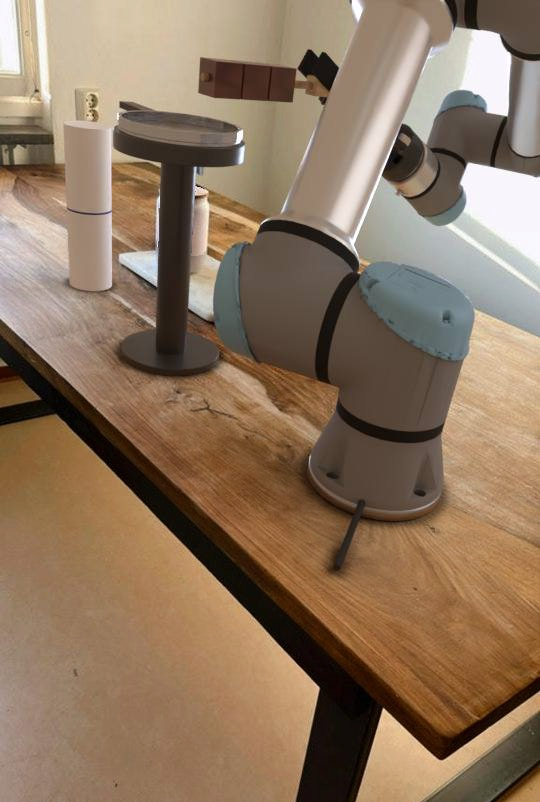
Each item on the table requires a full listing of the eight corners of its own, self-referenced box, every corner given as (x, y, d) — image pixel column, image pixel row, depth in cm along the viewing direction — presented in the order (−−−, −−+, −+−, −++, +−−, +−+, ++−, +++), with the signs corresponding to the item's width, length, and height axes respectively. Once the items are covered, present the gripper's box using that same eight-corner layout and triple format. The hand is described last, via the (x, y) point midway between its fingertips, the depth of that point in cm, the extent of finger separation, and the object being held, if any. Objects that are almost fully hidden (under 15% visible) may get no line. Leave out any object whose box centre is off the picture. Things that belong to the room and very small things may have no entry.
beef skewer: (347, 102, 98) (352, 71, 96) (365, 107, 95) (371, 75, 93) (193, 92, 84) (195, 56, 82) (209, 97, 82) (211, 60, 80)
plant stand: (169, 310, 114) (178, 103, 97) (246, 368, 100) (272, 136, 83) (76, 322, 106) (68, 97, 89) (145, 387, 91) (150, 132, 74)
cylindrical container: (70, 290, 116) (64, 126, 103) (68, 276, 122) (62, 118, 108) (113, 291, 119) (113, 130, 105) (110, 277, 124) (109, 123, 110)
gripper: (424, 195, 102) (332, 98, 85) (357, 171, 112) (262, 79, 95) (453, 147, 101) (365, 38, 83) (382, 127, 110) (291, 26, 93)
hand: (311, 61), depth 89 cm, fingers closed on beef skewer, 2 cm apart
